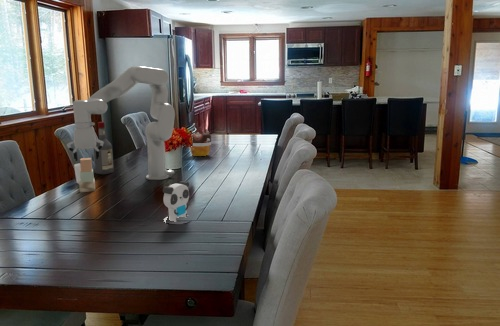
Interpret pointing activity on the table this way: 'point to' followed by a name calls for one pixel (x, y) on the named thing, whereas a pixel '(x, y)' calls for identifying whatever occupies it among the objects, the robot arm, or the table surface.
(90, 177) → the sage top block
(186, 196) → the panda figurine
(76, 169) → the white cup
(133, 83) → the robot arm
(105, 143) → the liquor
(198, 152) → the bucket of meat
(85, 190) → the beech base block
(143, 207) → the table surface
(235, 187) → the table surface
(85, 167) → the terracotta block
